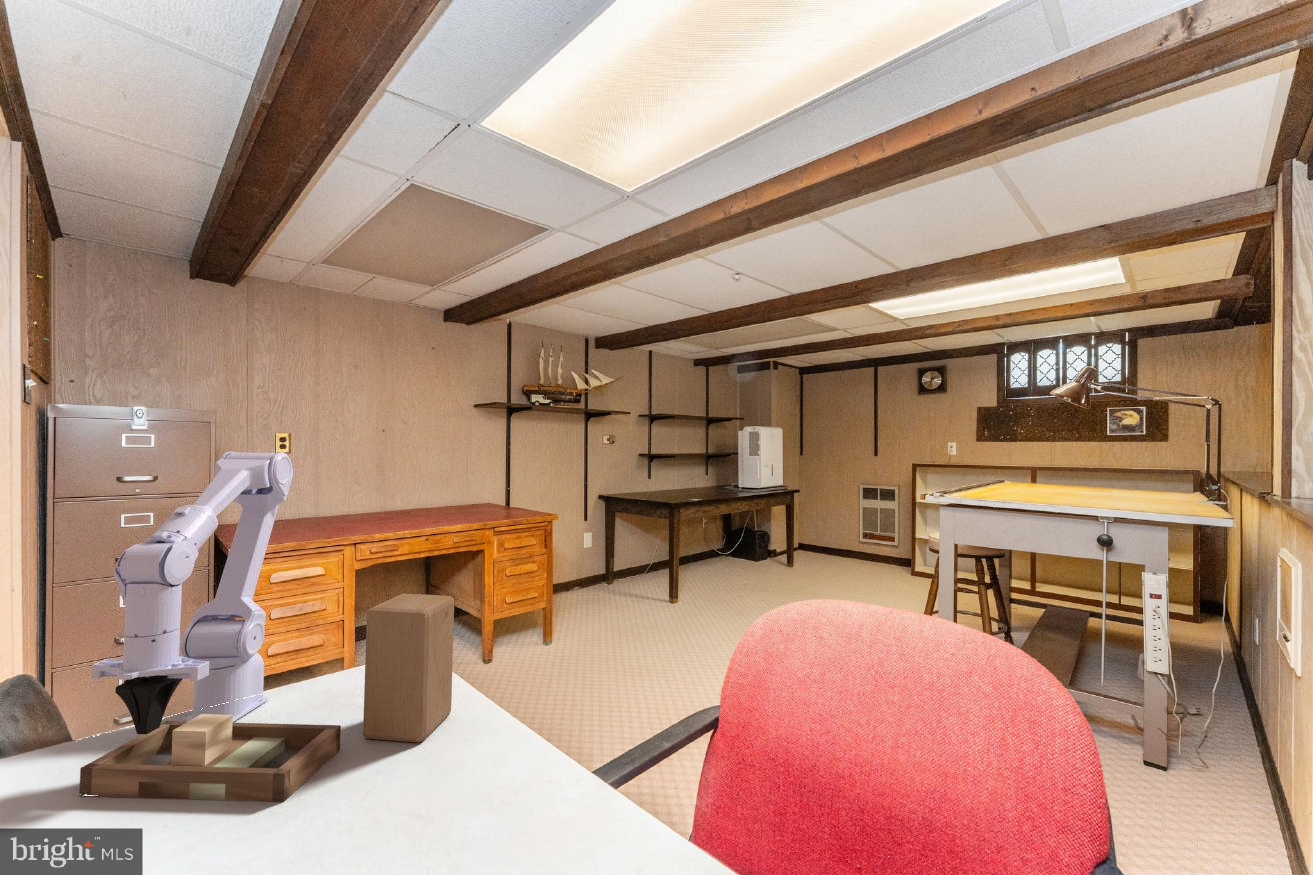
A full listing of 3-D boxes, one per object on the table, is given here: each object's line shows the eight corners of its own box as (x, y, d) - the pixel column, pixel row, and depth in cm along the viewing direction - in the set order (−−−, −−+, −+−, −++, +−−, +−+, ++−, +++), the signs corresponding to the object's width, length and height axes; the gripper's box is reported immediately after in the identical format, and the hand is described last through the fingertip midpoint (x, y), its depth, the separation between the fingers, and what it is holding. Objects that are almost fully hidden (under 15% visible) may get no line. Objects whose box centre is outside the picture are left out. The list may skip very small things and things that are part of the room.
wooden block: (453, 713, 92) (456, 594, 93) (422, 745, 82) (426, 611, 83) (397, 709, 93) (400, 591, 94) (359, 740, 83) (363, 608, 84)
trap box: (165, 744, 81) (166, 720, 81) (340, 749, 81) (340, 725, 81) (79, 796, 69) (80, 768, 69) (283, 801, 69) (284, 773, 69)
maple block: (199, 746, 77) (201, 714, 77) (231, 747, 77) (232, 714, 77) (171, 764, 73) (172, 730, 73) (204, 765, 73) (206, 731, 73)
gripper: (69, 639, 71) (64, 744, 71) (179, 641, 71) (175, 747, 71) (122, 622, 78) (118, 718, 78) (222, 624, 78) (219, 720, 78)
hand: (148, 730), depth 75 cm, fingers closed
